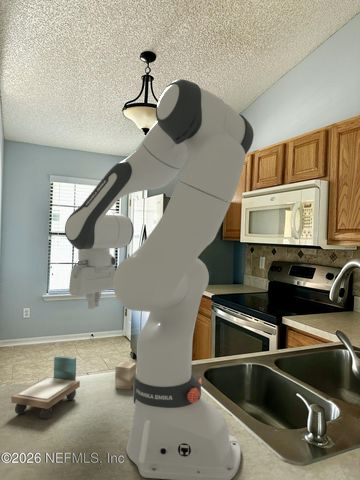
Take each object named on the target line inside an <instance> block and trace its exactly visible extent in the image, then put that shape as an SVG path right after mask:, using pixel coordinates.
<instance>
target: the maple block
mask: <svg viewBox="0 0 360 480" xmlns="http://www.w3.org/2000/svg"><path fill="white" fill-rule="evenodd" d="M114 374H115V376H114V379H115V382H114V387H115V388H116V389H117V388H118V389H124V390H131V389H132V388H133V387H134V377H135V375H136V374H137V362H130V361H121V362H119V364H117V365H116V366H115V373H114Z"/></svg>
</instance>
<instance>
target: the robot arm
mask: <svg viewBox="0 0 360 480" xmlns="http://www.w3.org/2000/svg"><path fill="white" fill-rule="evenodd" d="M155 118H156V121H155V123H154V124H153V125H152V127H151V128H150V129H149V131H148V132H147V134H146V135H145V136H144V137H143V140H142V141H141V143H140V144H139V146H138V147H137V148H136V149H135V150H134V151H133V152H132V153H131V154H130V155H129V156H128V157H125V159H124V160H122V161H120V162H118V163H116V164H115V165H113V166H112V167H111V168H110V169H109V171H108V172H107V173H105V175H104V176H103V178H101V180H100V181H99V183H98V184H97V185H96V186H95V188H94V189H93V191H92V192H91V193H89V195H88V197H87V198H86V199H85V200H84V201H83V203H82V204H81V205H80V206H79V207H77V208H76V209H75V210H74V211H73V212H72V213H71V214H70V215H69V216H68V218H67V219H66V222H65V225H64V234H65V237H66V239H67V241H68V242H69V243H70V245H72V246H73V247H74V248H76V249H77V251H78V256H77V257H78V259H77V260H76V262H75V263H74V265H73V268H72V269H71V272H70V276H69V285H68V286H69V288H68V290H69V294H70V296H72V297H73V296H75V297H76V296H77V297H78V296H79V297H80V296H85V298H86V300H87V306H88V309H89V310H93V309H97V308H98V307H99V305H100V303H99V301H100V299H101V297H102V292H103V291H108V290H112V289H113V292H114V294H115V297H116V299H117V301H118V303H120V304H121V306H123V307H124V308H126V309H127V310H129V311H135V312H145V313H147V312H149V314H148V317H147V320H146V321H145V324H144V326H143V327H142V329H141V330H140V332H139V334H138V336H137V341H136V375H135V377H134V386H133V387H132V388H133V389H132V390H133V391H132V392H133V403H134V411H133V415H132V416H133V418H132V424H131V429H130V432H129V437H128V441H127V444H126V446H125V447H126V450H125V451H126V454H127V456H128V459H129V460H131V461H132V462H133V463H134V464H135V465H136V466H137V468H138V472H139V474H140V475H141V477H143V478H146V479H161V480H232V479H233V478H234V477H235V475H236V474H237V472H238V471H239V468H240V464H241V459H242V454H241V453H242V452H241V445H240V443H239V441H238V439H237V438H236V437H235V436H234V435H231V434H230V433H229V428H228V427H229V426H228V423H227V419H226V417H225V415H224V414H223V413H221V412H220V411H219V410H218V409H217V408H216V407H215V406H213V405H212V404H211V403H210V402H209V401H208V400H206V399H205V398H204V397H203V396H202V377H200V378H199V380H197V378H196V377H194V375H193V374H192V361H193V360H192V359H193V339H194V331H195V325H196V321H197V316H198V313H199V308H200V305H201V300H202V297H203V294H204V293H205V291H206V289H207V288H208V286H209V280H210V275H209V271H208V268H207V266H206V264H205V263H204V262H203V261H202V260H201V259H200V258H198V257H199V256H200V255H201V253H202V252H203V251H204V250H205V249H206V248H207V247H208V246H210V245H211V244H212V242H213V241H214V240H215V238H216V237H217V234H218V232H219V230H220V228H221V225H222V223H223V221H224V218H225V217H226V214H227V212H228V210H229V208H230V206H231V203H232V201H233V199H234V197H235V194H236V191H237V190H238V189H237V188H238V187H239V183H240V180H241V178H242V174H243V170H244V166H245V162H246V155H247V154H248V152H249V151H250V149H251V147H252V144H253V141H254V136H255V135H254V129H253V127H252V124H251V123H250V122H249V120H248V119H246V117H245V116H244V115H243V114H240V113H238V112H237V111H236V110H235V109H234V108H232V107H231V106H230V105H228V104H227V103H225V100H223V99H222V98H220V97H218V96H217V95H216V94H214V93H212V92H210V91H208V90H206V89H204V88H202V87H200V85H198V84H197V83H195V82H193V81H190V80H187V79H181V78H179V79H176V80H174V81H172V82H171V83H169V84H168V85H167V86H166V87H165V89H164V90H163V91H162V93H161V94H160V96H159V98H158V100H157V104H156V108H155ZM183 166H184V167H183ZM182 168H183V169H182ZM181 169H182V171H181ZM180 171H181V173H180V176H179V178H178V180H177V182H176V185H175V187H174V189H173V191H172V194H171V196H170V199H169V201H168V204H167V205H166V207H165V209H164V212H163V214H162V215H161V217H160V220H159V221H158V223H157V224H156V225H155V227H154V228H153V229H152V231H151V232H150V233H149V235H148V236H147V238H146V239H145V240H144V241H143V242H142V243H141V245H140V246H139V247H138V249H137V250H135V251H134V252H133V253H132V254H131V255H130V256H128V257H126V258H125V259H123V260H122V261H121V262H120V263H118V265H117V258H116V257H114V256H113V255H112V254H111V253H110V250H111V249H121V248H125V247H127V246H129V244H131V242H132V240H133V237H134V234H135V231H134V224H133V222H132V220H131V218H129V216H127V215H124V214H122V213H118V212H116V211H113V210H112V207H114V205H115V204H116V203H117V202H118V201H119V200H120V199H121V198H123V197H124V196H127V195H129V194H133V193H138V192H144V191H152V190H153V191H154V190H158V189H161V188H164V187H165V186H167V185H169V184H170V183H171V181H173V180H174V179H175V177H176V176H177V175H178V174H179V172H180ZM115 266H117V267H115Z"/></svg>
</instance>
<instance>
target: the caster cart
mask: <svg viewBox="0 0 360 480" xmlns="http://www.w3.org/2000/svg"><path fill="white" fill-rule="evenodd" d="M53 359H54V360H53V376H46V377H44V378H41V379H40V380H38V381H36V382H35V383H33V384H31V385H29V386H27V387H25V388H23V389H22V390H20V391H19V392H16V393H15V394H13V395H11V401H10V403H12V404H16V405H15V408H14V412H15V413H16V414H18V415H23V414H24V413H25V412H26V410H27V407H28V406H29V407H35V408H41V410H40V414H39V415H40V418H41V419H46V420H47V419H48V418H50V417H51V414H52V411H53V409H52V408H53V407H52V406H54V405H56V404H57V403H58V402H60V401H62V400H63V399H64V398H66V400H69V401H73V400H74V399H75V397H76V394H77V389H78V388H80V386H81V385H80V384H81V383H80V382H81V381H80V380H76V378H77V376H76V375H77V357H73V356H66V355H65V356H63V355H56V356H55V355H54V357H53Z"/></svg>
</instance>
